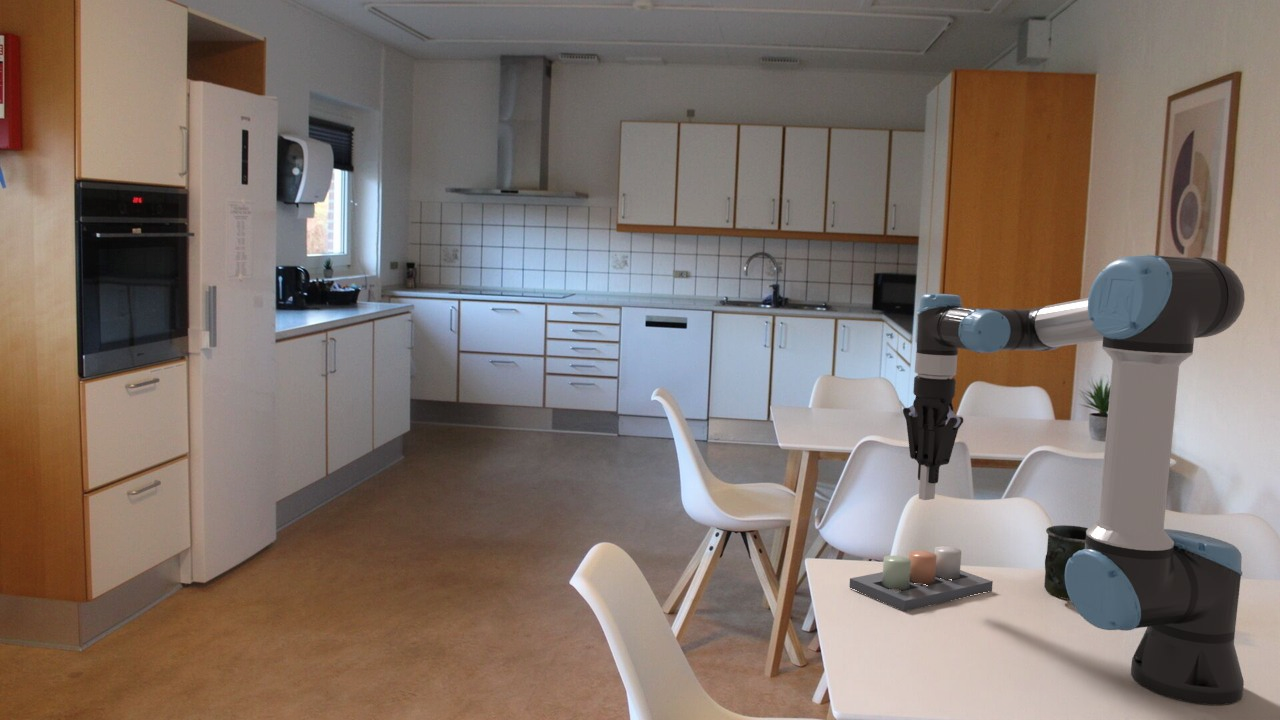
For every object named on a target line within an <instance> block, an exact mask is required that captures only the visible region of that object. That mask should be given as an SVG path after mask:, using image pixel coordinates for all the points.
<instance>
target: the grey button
mask: <svg viewBox="0 0 1280 720" xmlns="http://www.w3.org/2000/svg"><path fill="white" fill-rule="evenodd" d="M934 554H936V555H937V559H936V574H935V576H937V577H941V578H942V579H945V578H946V579H945V580H948V579H956V578H959V577H960V570H961V564H962V563H961V562H962V550H961V549H960V548H957V547H953V546H946V545H945V546H943V545H942V546H941V545H940V546H935V547H934Z"/></svg>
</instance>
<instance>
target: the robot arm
mask: <svg viewBox="0 0 1280 720" xmlns="http://www.w3.org/2000/svg"><path fill="white" fill-rule="evenodd" d="M1095 277H1096V278H1095V279H1094V281H1093V283H1092V285H1091V288H1090V290H1089V294H1088V297H1085V298H1079V299H1076V300H1071V301H1065V302H1060V303H1055V304H1048V305H1045V306H1044V305H1043V306H1040V307H1034V308H1026V309H1025V308H1023V309H1022V308H1021V309H1020V308H1017V309H1015V308H979V307H978V308H976V307H975V308H974V307H964V306H962V297H961V296H960V295H957V294H949V293H948V294H947V293H924V294H923V295H922V296H921V297H920V301H919V310H918V312H917V313H918V314H917V330H916V332H917V334H916V351H915V362H914V363H915V365H914V373H915V374H917V375H916V376H915V377H914V379H913V392H912V393H913V395H914V396H915V398H914V400H913V403H912V405H911V406H909V407H904V408H903V409H902V413H903V415H904V419H905V422H906V423H905V424H906V432H907V439H908V449H909V456H910V459H913V460H915V461H916V462H917V464H918V466H917V469H918V470H917V479H918V481H919V491H918V499H919V500H922V501H929V500H935V495H936V484H938V482H939V477H940V476H939V475H940V467H941V466H944V465H949V463H950V462H951V461H950V460H951V457H952V453H953V449H954V445H955V442H956V439H957V435H958V432H959V429H960V427H961V426H962V424H963V423H964V418H963V417H962V416H958V415H957V414H956V413H955V412H954V406H953V399H954V397H955V395H956V384H957V383H956V382H957V381H956V379H955V378H954V376H956V375H957V369H958V368H957V364H958V353H959V352H958V351H959V350H958V349H962V350H966V351H970V352H971V351H972V352H973V353H978V354H979V353H985V354H986V353H987V354H992V353H996V352H998V351H999V352H1000V351H1007V352H1008V351H1009V352H1010V351H1036V352H1047V351H1052V350H1053V351H1054V350H1057V349H1059V348H1061V347H1064V346H1065V347H1066V346H1072V345H1079V344H1087V343H1094V342H1101V341H1102V347H1101V348H1102V350H1104V352H1105V353H1106V354H1107V355H1108V356H1109V357H1110V358H1111V361H1112V362H1111V363H1112V364H1111V373H1110V387H1109V397H1108V399H1109V400H1108V411H1107V419H1106V420H1107V422H1106V430H1105V431H1106V433H1105V442H1104V443H1105V445H1104V452H1103V453H1104V455H1103V467H1102V477H1101V487H1100V490H1101V491H1100V497H1099V498H1100V499H1099V511H1098V521H1096V522H1095V523H1094V524H1092V525H1091V526H1090V527H1087V528H1088V529H1087V530H1086V541H1085V549H1083V550H1079V551H1078V552H1076V553H1075V554H1073V557H1071V558H1069V560H1068V562H1067V564H1066V568H1065V585H1066V589H1067V593H1068V595H1069V598H1070V599H1069V600H1070V602H1071V603H1072V604H1073V605H1074V608H1075V610H1076V611H1077V613H1078V614H1079V615H1080V617H1082V619H1083V620H1085V621H1086V622H1087V623H1089V624H1090V625H1092V626H1093V627H1096V628H1098V629H1101V630H1104V631H1125V632H1126V631H1132V630H1134V629H1141V628H1146V629H1145V631H1144V633H1143V636H1142V638H1141V640H1140V642H1139V643H1138V646H1137V648H1136V650H1135V652H1134V654H1133V656H1132V658H1131V667H1130V676H1131V678H1132V679H1133V680H1134V681H1135V682H1137V683H1138V684H1139V685H1141V686H1142V687H1144V688H1146V689H1148V690H1150V691H1151V692H1154V693H1157V694H1160V695H1162V696H1164V697H1168V698H1171V699H1174V700H1178V701H1184V702H1189V703H1193V704H1201V705H1214V706H1215V705H1216V706H1217V705H1219V706H1220V705H1229V704H1234V703H1237V702H1239V701H1240V700H1241V699H1242V698H1243V694H1244V693H1243V692H1244V685H1245V684H1244V682H1245V681H1244V677H1243V673H1242V669H1241V666H1240V662H1239V657H1238V654H1237V650H1236V646H1235V637H1236V635H1235V634H1236V633H1235V632H1236V628H1237V627H1236V625H1237V618H1238V617H1237V616H1238V606H1239V599H1240V598H1239V596H1240V588H1241V579H1242V576H1243V570H1242V559H1243V558H1242V553H1241V551H1240V550H1239V549H1238V547H1236V546H1235V545H1234V544H1232V543H1229V542H1227V541H1225V540H1222V539H1218V538H1215V537H1211V536H1207V535H1203V534H1199V533H1195V532H1189V531H1184V530H1177V529H1170V528H1165V518H1166V517H1165V516H1166V506H1167V497H1168V485H1169V479H1170V478H1169V475H1170V465H1171V456H1172V444H1173V434H1174V422H1175V415H1176V413H1175V412H1176V406H1177V405H1176V402H1177V393H1178V381H1179V373H1180V372H1179V371H1180V366H1181V364H1183V362H1184V361H1186V360H1187V359H1188V358H1190V357H1191V356H1193V354H1194V352H1193V351H1194V343H1195V339H1199V338H1201V339H1202V338H1208V337H1213V336H1216V335H1218V334H1220V333H1222V332H1223V333H1224V331H1226V330H1228V329H1229V328H1230V327H1232V326H1233V325H1234V323H1236V322H1237V320H1239V319H1238V318H1239V317H1240V315H1241V314H1242V311H1243V309H1244V305H1245V290H1244V285H1243V283H1242V281H1241V279H1240V277H1239V276H1238V274H1236V272H1235V271H1234V270H1233V269H1232V268H1230V267H1229V266H1228V265H1226V264H1224V263H1222V262H1221V261H1217V260H1216V259H1215V260H1214V259H1212V258H1206V257H1187V256H1186V257H1184V256H1183V257H1181V256H1169V255H1168V256H1165V255H1152V254H1145V255H1131V256H1129V255H1128V256H1124V257H1120V258H1117V259H1115V260H1113V261H1112V262H1110V263H1109V264H1107V265H1106V267H1105V268H1104V269H1103V270H1101V271H1100V272H1099V273H1098V275H1097V276H1095Z"/></svg>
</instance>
